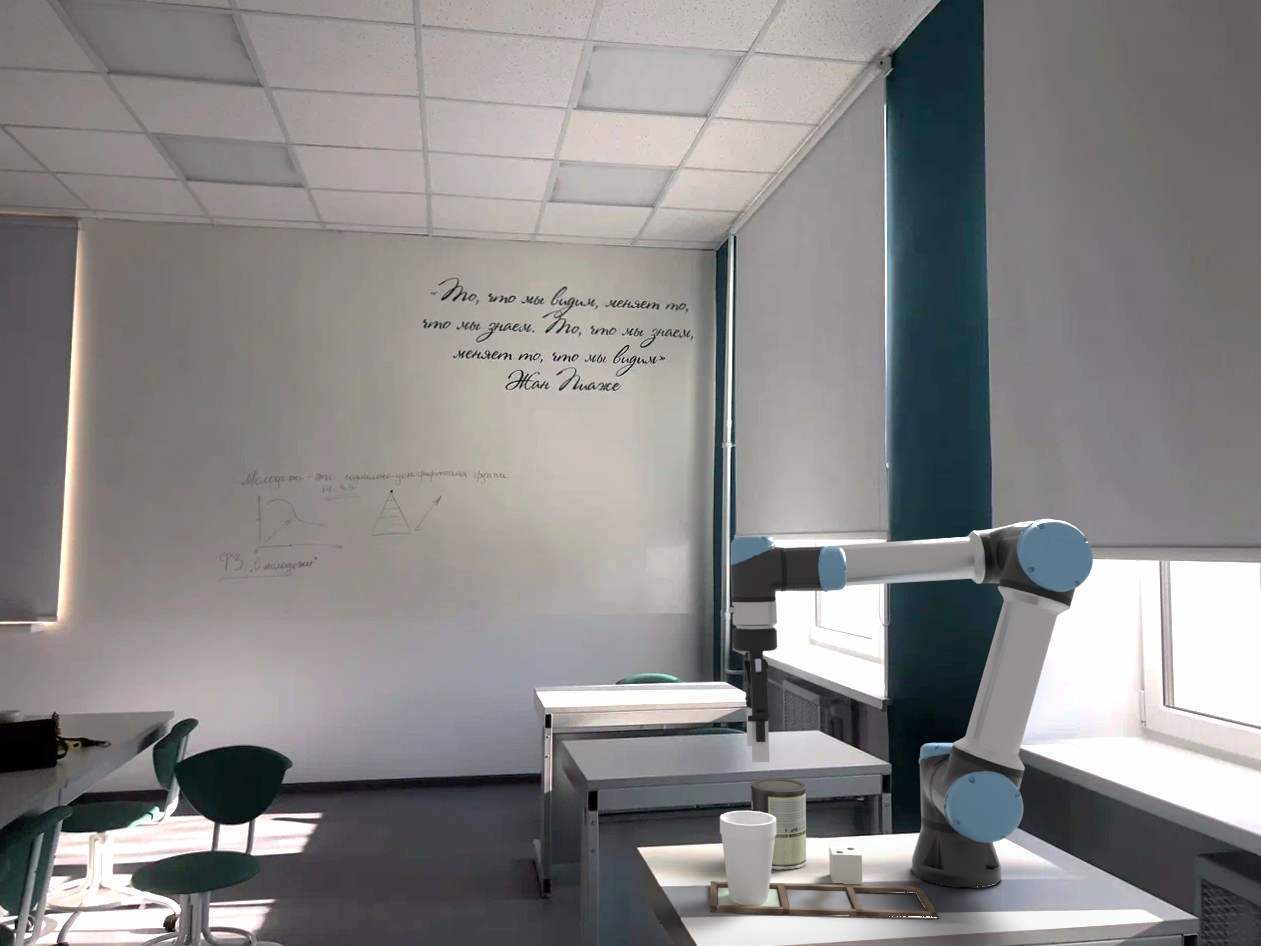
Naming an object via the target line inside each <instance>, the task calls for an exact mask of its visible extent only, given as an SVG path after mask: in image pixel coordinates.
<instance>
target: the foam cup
mask: <svg viewBox="0 0 1261 946" xmlns="http://www.w3.org/2000/svg"><path fill="white" fill-rule="evenodd" d="M719 834H720V835H721V841H722V842H721V843H722V849H723V859H724V864H725V865H724V866H725V871H726V873H725V874H726V880H727V881H726V882H728V889H729V895H730V900H732V901H733V902H735V903H738V904H742V905H759V904H764V903H765V902H767V901H768V894H769V886H770V883H771V877H772V876H771V873H772V869H771V868H772V859H773V850H774V842H775V836H776V817H775V816H773V815H771V814H768V813H763V812H757V811H752V810H734V811H728V812H724V813H722V814H720V816H719Z"/></svg>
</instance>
